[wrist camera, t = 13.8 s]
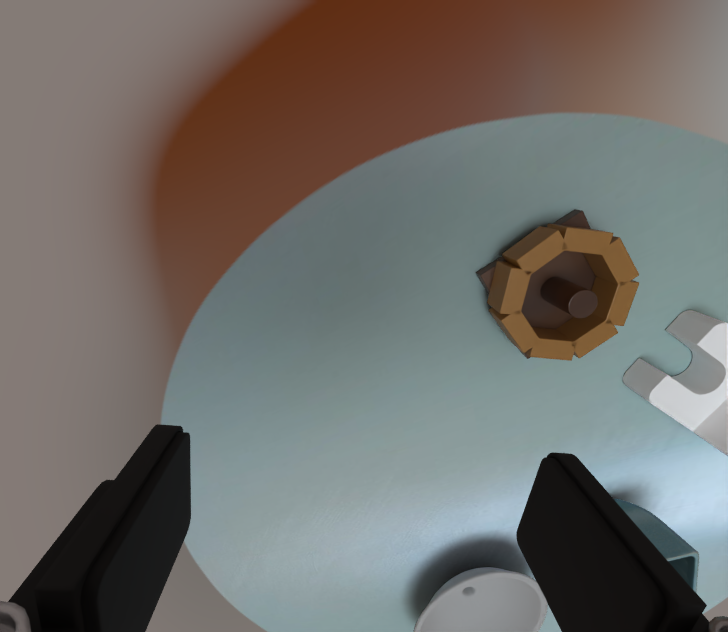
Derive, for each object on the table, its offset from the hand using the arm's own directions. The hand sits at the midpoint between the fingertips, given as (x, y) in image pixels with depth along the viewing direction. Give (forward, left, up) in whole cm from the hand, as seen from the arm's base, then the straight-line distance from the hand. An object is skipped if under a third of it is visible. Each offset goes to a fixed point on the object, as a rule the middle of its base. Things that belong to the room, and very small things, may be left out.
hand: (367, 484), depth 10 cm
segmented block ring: (+11, +14, -25) cm, 31 cm away
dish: (+42, -10, -26) cm, 50 cm away
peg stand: (+12, +15, -26) cm, 32 cm away
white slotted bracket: (+32, +25, -26) cm, 48 cm away
